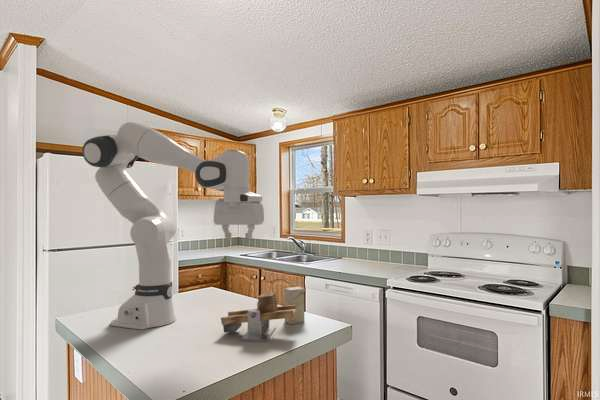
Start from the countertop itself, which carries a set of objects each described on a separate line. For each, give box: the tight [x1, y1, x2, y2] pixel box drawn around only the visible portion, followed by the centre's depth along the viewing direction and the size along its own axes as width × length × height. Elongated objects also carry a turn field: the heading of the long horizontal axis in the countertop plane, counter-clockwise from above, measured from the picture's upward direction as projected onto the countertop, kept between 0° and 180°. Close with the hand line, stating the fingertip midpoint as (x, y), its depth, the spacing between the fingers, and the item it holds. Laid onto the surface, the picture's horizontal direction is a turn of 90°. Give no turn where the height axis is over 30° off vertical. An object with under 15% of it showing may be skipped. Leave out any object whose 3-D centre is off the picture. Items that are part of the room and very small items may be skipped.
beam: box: [220, 305, 297, 333], centre depth 121 cm, size 24×8×6 cm, turn 80°
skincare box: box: [284, 286, 305, 325], centre depth 135 cm, size 6×4×12 cm
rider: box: [257, 292, 279, 313], centre depth 121 cm, size 5×5×6 cm
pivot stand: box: [240, 301, 277, 343], centre depth 121 cm, size 8×13×9 cm, turn 170°
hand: (238, 238), depth 125 cm, fingers open, 8 cm apart
